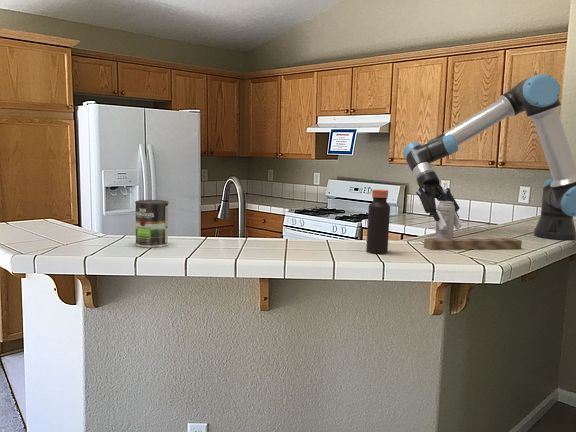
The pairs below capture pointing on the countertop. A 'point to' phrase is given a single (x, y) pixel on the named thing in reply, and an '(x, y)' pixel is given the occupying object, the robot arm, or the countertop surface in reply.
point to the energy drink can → (446, 219)
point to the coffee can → (151, 223)
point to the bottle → (378, 223)
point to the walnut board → (471, 243)
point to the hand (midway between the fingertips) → (451, 227)
